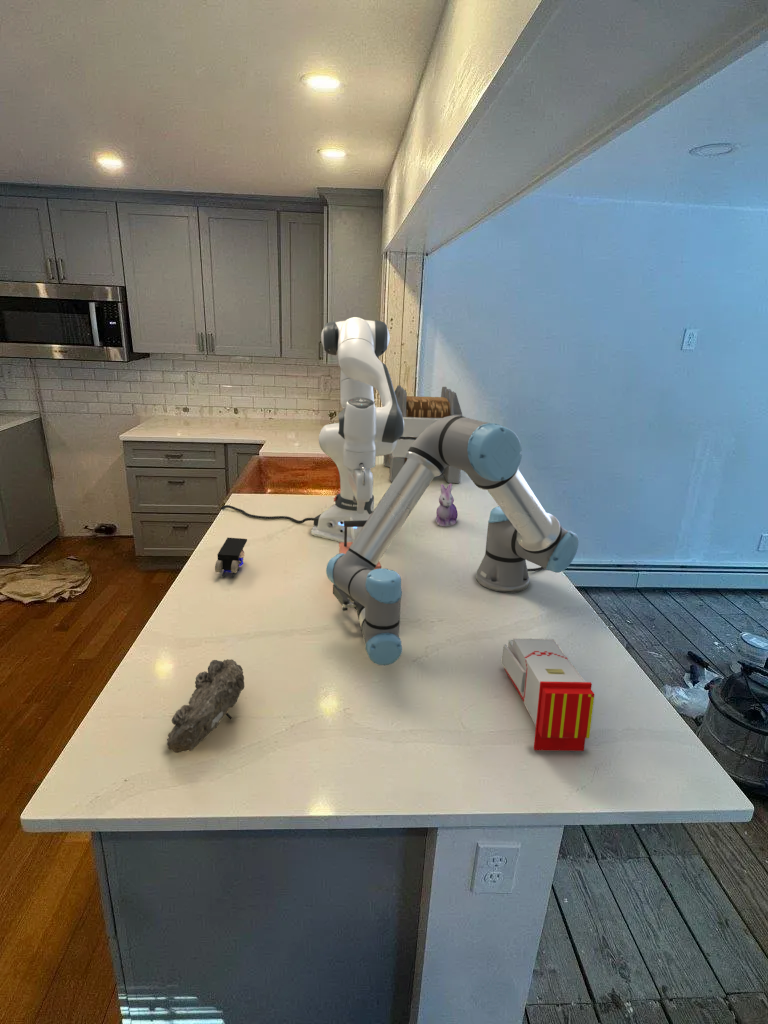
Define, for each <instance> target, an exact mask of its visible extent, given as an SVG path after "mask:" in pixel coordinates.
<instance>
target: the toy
mask: <svg viewBox="0 0 768 1024" xmlns="http://www.w3.org/2000/svg"><path fill="white" fill-rule="evenodd" d="M500 661H501V662H500V663H501V664H502V666H503V668H504V671H505V673H506V674H507V676H508V678H509V679H510V681H511V684H512V685H513V686H514V688H515V691H517V693H518V695H519V696H520V699H521V700H522V702H523V704H524V706H525V708H526V711H527V712H528V714H529V716H530V718H531V720H532V723H533V724H534V726H535V731H534V741H533V750H534V751H554V752H555V751H556V752H557V751H558V752H564V751H565V752H584V751H585V743H586V739H590V737H591V736H590V735H591V727H592V718H593V710H594V702H595V692H593V690H592V685H593V684H592V682H590V681H585V679H584V678H583V676H582V675H581V674H580V673H579V672H578V670H577V669H576V668H575V666H574V665H573V663H572V662H571V661H570V659H569V658H568V657H567V655H566V654H565V653H564V651H563V650H562V649H561V648H560V646H559V644H558V643H557V642H556V640H554V638H517V637H515V638H512V639H508V643H507V644H503V647H502V653H501V660H500Z"/></svg>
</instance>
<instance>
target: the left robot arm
mask: <svg viewBox="0 0 768 1024" xmlns="http://www.w3.org/2000/svg"><path fill="white" fill-rule="evenodd" d="M390 340H391V335H390V331H389V328H388V325H387V324H386V323H385V322H384V321H382V320H377V319H375V320H369V319H365V318H364V319H363V318H361V317H358V316H353V317H349V318H346V319H345V320H340V321H335V320H333V321H329V322H326V323H325V324H324V325H323V329H322V330H321V333H320V341H321V345H322V348H323V350H324V352H325V353H327V354H328V355H331V356H337V360H338V365H339V368H340V372H339V373H340V374H339V394H340V398H339V399H340V406H341V408H342V410H341V411H340V412H339V413H338V414H337V417H338V422H334V423H330V424H329V423H328V424H325V425H323V427H321V429H320V432H319V434H318V445H319V447H320V449H321V451H322V452H323V453H324V454H325V455H326V456H328V457H329V458H330V459H331V460H332V462H334V464H335V466H336V467H337V470H338V474H339V483H340V484H339V485H340V488H339V489H340V490H339V491H338V492H337V494H336V495H335V496H334V497H333V502H334V504H333V505H331V506H329V507H328V508H326V509H325V510H323V512H321V513H319V514H318V515H316V516H315V517H305V518H303V519H302V520H298V519H295V518H294V517H291V516H287V515H275V516H273V515H272V516H266V515H255V514H251V513H248V512H246V511H244V510H243V509H241V508H238V507H236V506H232V505H229V504H225V505H222V506H221V507H220V508H219V510H224V509H231V510H234V511H236V512H239V513H242V514H243V515H245V516H246V517H249V518H253V519H260V520H289V521H292V522H294V523H296V524H303V523H305V522H307V521H308V522H309V521H310V522H311V521H313V526H312V528H311V530H310V533H311V536H315V537H319V538H323V539H326V540H330V541H336V542H338V543H339V542H344V521H359V520H368V519H369V517H370V516H371V514H372V513H373V511H374V509H375V496H374V474H373V472H372V471H371V470H372V469H373V468H375V467H376V459H377V458H376V457H382V456H383V457H384V455H387V454H391V453H392V452H393V450H394V449H395V447H396V444H397V440H398V439H399V438H400V437H401V436H402V435H403V431H404V419H403V416H402V413H401V410H400V408H399V406H398V403H397V399H396V395H395V389H394V386H393V381H392V378H391V375H390V372H389V368H388V366H387V364H386V363H385V362H382V361H381V360H380V359H379V357H380V356H382V355H384V354H385V352H386V351H387V350H388V346H389V344H390ZM374 389H375V390H376V391H377V392H378V394H379V395H378V396H379V399H380V402H381V405H382V406H376V402H375V395H374ZM362 528H363V527H347V542H353V541H354V540H355V538H356V537H357V535H358V534H359V532H360V531H361V529H362Z"/></svg>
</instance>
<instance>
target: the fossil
mask: <svg viewBox="0 0 768 1024" xmlns="http://www.w3.org/2000/svg"><path fill="white" fill-rule="evenodd" d="M243 670H244V669H243V667H242V665H240V664H237V662H236V661H235V660H234V659H232V658H231V659H227V658H226V659H224V660H223V661H222V660H217V659H212V660H211V661H210V663H209V665H208V666H207V671H201V672H199V673H198V674H197V675H196V676H195V680H194V684H195V685H194V687H195V689H194V690H193V693H192V694H191V697H190V698H189V700H188V704H184V705H182V706H181V707H180V709H177V710H176V711H175V713H174V715H173V716H172V718H171V723H172V724H173V727H172V730H171V731H170V732H168V734H167V738H166V741H167V742H166V745H167V749H168V750H169V751H173V752H174V753H176V754H178V753H182V752H188V751H189V752H192V751H193V750H195V748H196V747H197V746H199V744H200V743H201V742H203V741H204V740H205V739H206V738H207V737H208V736H209V735H210V734H211V733H212V732H214V730H215V729H217V727H218V726H219V724H220V722H221V721H222V720H223V719H224V718H225V716H226V717H227V719H229V720H233V717H232V715H230V714H229V710H230V709H231V708H234V706H235V704H236V703H237V702H238V699H239V697H240V695H241V693H242V691H243V690H245V689H244V688H245V675H244V671H243Z"/></svg>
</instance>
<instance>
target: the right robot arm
mask: <svg viewBox="0 0 768 1024" xmlns="http://www.w3.org/2000/svg"><path fill="white" fill-rule="evenodd" d="M522 451H523V448H522V443H521V441H520V438H519V437H518V434H516V432H515V431H514V430H511V428H509V427H507V426H504V425H501V424H499V423H494V422H486V421H482V420H478V419H474V418H470V417H466V416H464V415H462V416H458V415H452V416H447V417H444V418H441V419H439V420H437V421H436V422H434V423H433V424H431V425H430V426H429V427H428V428H426V429H425V430H424V431H423V432H422V433H421V434H420V435H419V436H418V437H417V439H416V440H415V441H414V443H413V444H412V445H411V447H410V448H409V450H408V451H407V453H406V456H407V461H406V462H405V464H404V465H403V467H402V468H401V470H400V471H399V473H398V474H397V476H396V477H395V479H394V480H393V482H391V483H390V485H389V487H388V488H387V489H386V491H385V493H384V494H383V496H382V497H381V499H380V500H379V502H378V503H377V504H376V506H375V507H374V510H373V513H372V514H371V516H370V517H369V519H368V520H367V522H366V523H365V525H364V526H363V528H362V529H361V531H360V532H359V534H358V535H357V537H356V538H355V540H354V541H353V543H352V545H351V546H350V548H349V549H348V551H347V552H346V554H343V553H340V554H339V553H337V554H335V555H334V556H333V557H331V558H330V559H329V561H328V562H327V564H326V568H325V573H326V577H327V579H328V580H329V582H331V583H332V594H333V596H334V597H335V598H336V600H337V601H338V602H339V603H340V605H341V606H342V611H348V610H349V609H350V608H353V609H354V610H355V611H356V614H357V619H358V622H359V626H360V631H361V633H362V638H363V641H364V642H363V643H364V646H365V648H364V649H365V651H366V654H367V655H368V658H369V660H370V661H371V662H372V663H373V664H375V665H377V666H383V667H384V666H390V665H392V664H395V663H396V662H397V661H398V660H399V659H400V657H401V655H402V653H403V646H402V640H401V638H400V623H401V621H400V619H401V618H400V616H401V605H402V604H401V603H402V596H403V591H402V578H401V575H400V574H399V573H398V572H397V571H395V570H393V569H389V568H382V567H381V568H380V569H375V567H376V565H377V563H378V562H380V560H381V559H382V558H383V556H384V554H385V553H386V551H387V550H388V548H389V547H390V545H391V543H392V542H393V541H394V539H395V537H396V536H397V534H398V533H399V532H400V530H401V528H402V527H403V525H404V524H405V522H406V521H407V519H408V517H409V516H410V515H411V513H412V512H413V510H414V508H415V507H416V506H417V504H418V502H419V501H420V500H421V497H423V495H424V494H425V491H426V490H427V489H428V487H429V486H430V484H431V483H432V481H433V480H434V478H436V477H439V476H441V475H442V474H441V473H442V472H443V470H444V469H445V468H446V467H447V466H452V467H455V468H458V469H461V471H462V472H464V473H465V474H467V476H468V477H469V479H470V480H471V481H472V483H473V484H474V485H475V486H476V487H477V488H478V489H480V490H484V491H487V492H488V493H489V495H490V496H491V498H492V499H493V500H494V501H495V503H496V504H497V505H498V506H495V507H493V508H492V509H491V510H490V513H489V518H488V521H487V523H488V524H487V533H486V543H485V553H484V555H483V558H482V560H481V561H480V564H479V566H478V568H477V569H476V576H475V577H476V581H477V583H479V585H481V586H483V587H484V588H486V589H489V590H491V591H494V592H499V593H519V592H522V591H524V590H526V589H527V588H528V587H529V583H530V575H529V572H537V571H541V570H544V569H545V570H546V571H550V572H553V573H555V574H557V573H561V572H563V571H565V570H566V569H568V567H569V566H570V565H571V563H572V562H573V560H574V559H575V557H576V555H577V553H578V549H579V542H580V541H579V540H580V539H579V536H578V535H577V533H575V532H573V531H572V530H567V529H566V528H564V527H563V526H562V524H561V523H560V521H559V520H558V518H557V517H556V516H555V515H553V514H551V513H549V512H546V509H544V507H543V506H542V504H541V502H540V500H539V499H538V498H537V497H536V495H535V493H534V491H533V490H532V489H531V487H530V485H529V484H528V482H527V480H526V479H525V477H524V475H523V474H522V473H521V471H520V469H519V468H520V465H521V462H522V457H523V455H522V453H521V452H522ZM527 561H528V562H530V563H532V564H534V565H535V566H536V565H537V566H539V567H534V568H528V565H527ZM374 569H375V570H374ZM350 600H352V601H350Z"/></svg>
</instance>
